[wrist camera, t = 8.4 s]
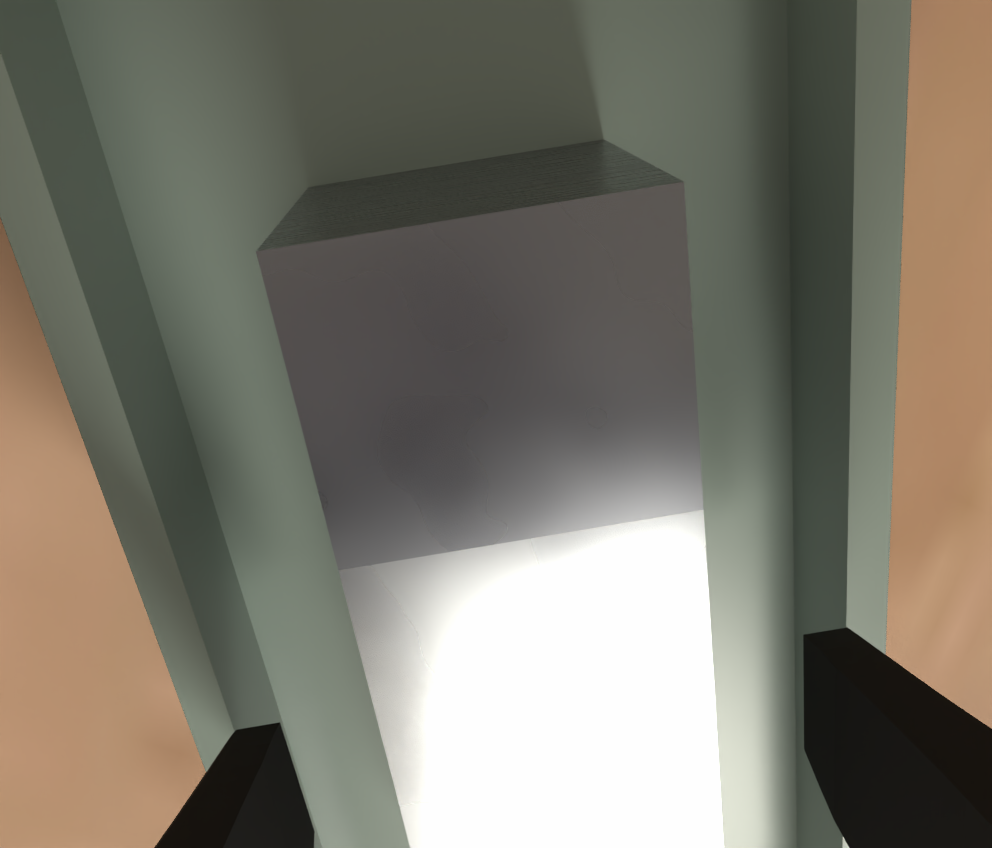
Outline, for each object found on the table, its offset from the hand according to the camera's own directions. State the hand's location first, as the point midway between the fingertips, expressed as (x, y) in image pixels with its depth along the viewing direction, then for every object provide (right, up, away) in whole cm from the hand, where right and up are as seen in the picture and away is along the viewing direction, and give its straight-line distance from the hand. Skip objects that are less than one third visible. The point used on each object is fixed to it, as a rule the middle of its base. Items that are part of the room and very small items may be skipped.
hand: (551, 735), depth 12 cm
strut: (0, +1, +3) cm, 3 cm away
